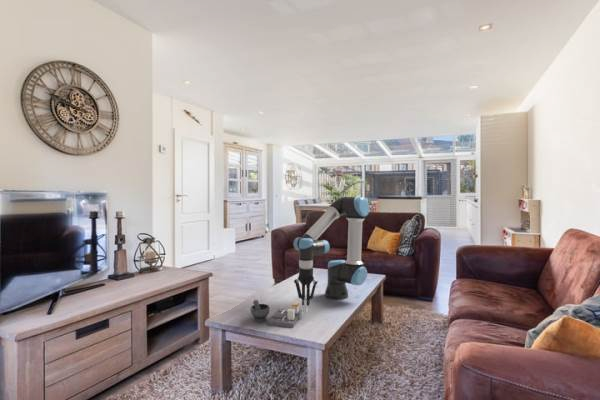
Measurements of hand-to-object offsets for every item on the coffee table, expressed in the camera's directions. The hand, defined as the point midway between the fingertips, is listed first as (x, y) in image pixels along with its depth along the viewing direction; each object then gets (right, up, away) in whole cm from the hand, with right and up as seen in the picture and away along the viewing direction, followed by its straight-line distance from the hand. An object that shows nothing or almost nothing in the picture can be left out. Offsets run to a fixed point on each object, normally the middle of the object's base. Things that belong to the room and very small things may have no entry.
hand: (305, 311), depth 170 cm
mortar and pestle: (-24, -4, -4) cm, 25 cm away
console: (-11, -3, -3) cm, 12 cm away
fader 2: (-6, -1, +1) cm, 6 cm away
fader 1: (-8, -1, -7) cm, 11 cm away
